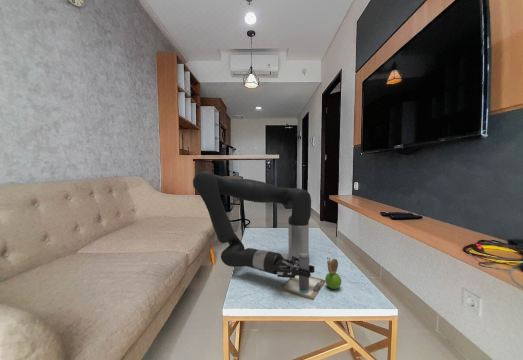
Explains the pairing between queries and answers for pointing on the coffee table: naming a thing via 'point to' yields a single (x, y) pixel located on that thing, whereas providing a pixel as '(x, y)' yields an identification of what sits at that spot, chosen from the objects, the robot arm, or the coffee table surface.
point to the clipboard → (293, 287)
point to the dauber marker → (305, 265)
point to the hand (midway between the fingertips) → (311, 271)
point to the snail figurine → (333, 274)
